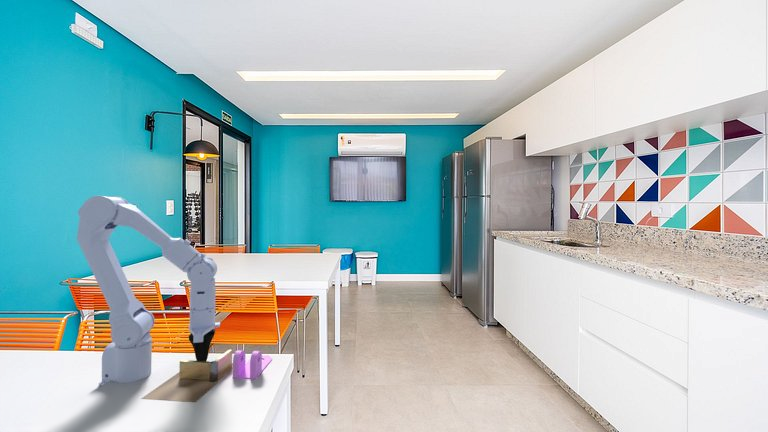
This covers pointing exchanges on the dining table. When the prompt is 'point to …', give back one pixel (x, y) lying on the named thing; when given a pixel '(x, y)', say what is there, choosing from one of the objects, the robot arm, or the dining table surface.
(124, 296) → the robot arm
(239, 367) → the bracket
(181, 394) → the walnut board
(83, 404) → the dining table surface
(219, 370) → the fixed leaf
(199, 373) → the swing leaf
